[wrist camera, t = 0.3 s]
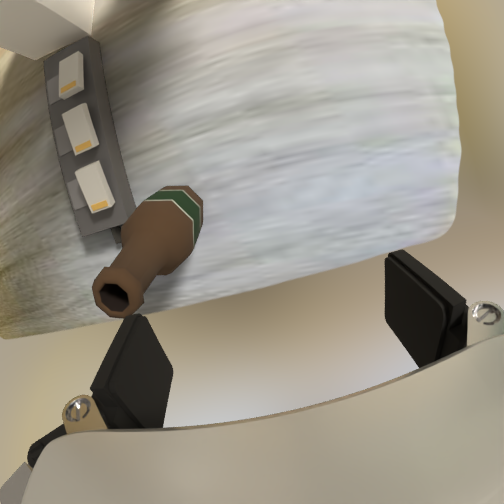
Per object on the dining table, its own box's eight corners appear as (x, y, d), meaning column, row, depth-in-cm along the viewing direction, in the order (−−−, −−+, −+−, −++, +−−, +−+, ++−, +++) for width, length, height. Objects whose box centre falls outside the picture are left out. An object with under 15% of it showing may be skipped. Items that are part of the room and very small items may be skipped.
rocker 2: (79, 168, 30) (74, 172, 29) (98, 160, 30) (94, 163, 29) (95, 209, 33) (91, 214, 32) (115, 202, 33) (111, 206, 32)
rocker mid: (66, 112, 27) (61, 114, 26) (86, 102, 27) (81, 103, 26) (79, 152, 30) (74, 155, 29) (99, 144, 30) (94, 146, 29)
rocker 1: (64, 65, 25) (58, 61, 24) (83, 54, 25) (77, 50, 24) (64, 99, 26) (58, 96, 25) (83, 89, 26) (78, 85, 25)
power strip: (57, 65, 28) (42, 61, 24) (99, 42, 28) (87, 35, 24) (100, 246, 40) (89, 256, 36) (144, 233, 39) (135, 243, 36)
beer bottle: (165, 244, 40) (103, 355, 18) (143, 196, 37) (45, 266, 15) (214, 224, 40) (192, 330, 17) (193, 173, 37) (133, 220, 15)
